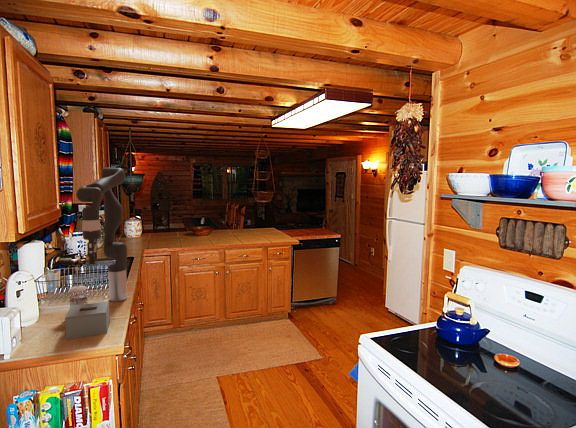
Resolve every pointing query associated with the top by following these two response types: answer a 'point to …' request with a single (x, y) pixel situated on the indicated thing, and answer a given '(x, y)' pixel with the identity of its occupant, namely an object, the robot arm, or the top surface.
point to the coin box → (87, 319)
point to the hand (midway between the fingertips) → (93, 261)
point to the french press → (78, 298)
